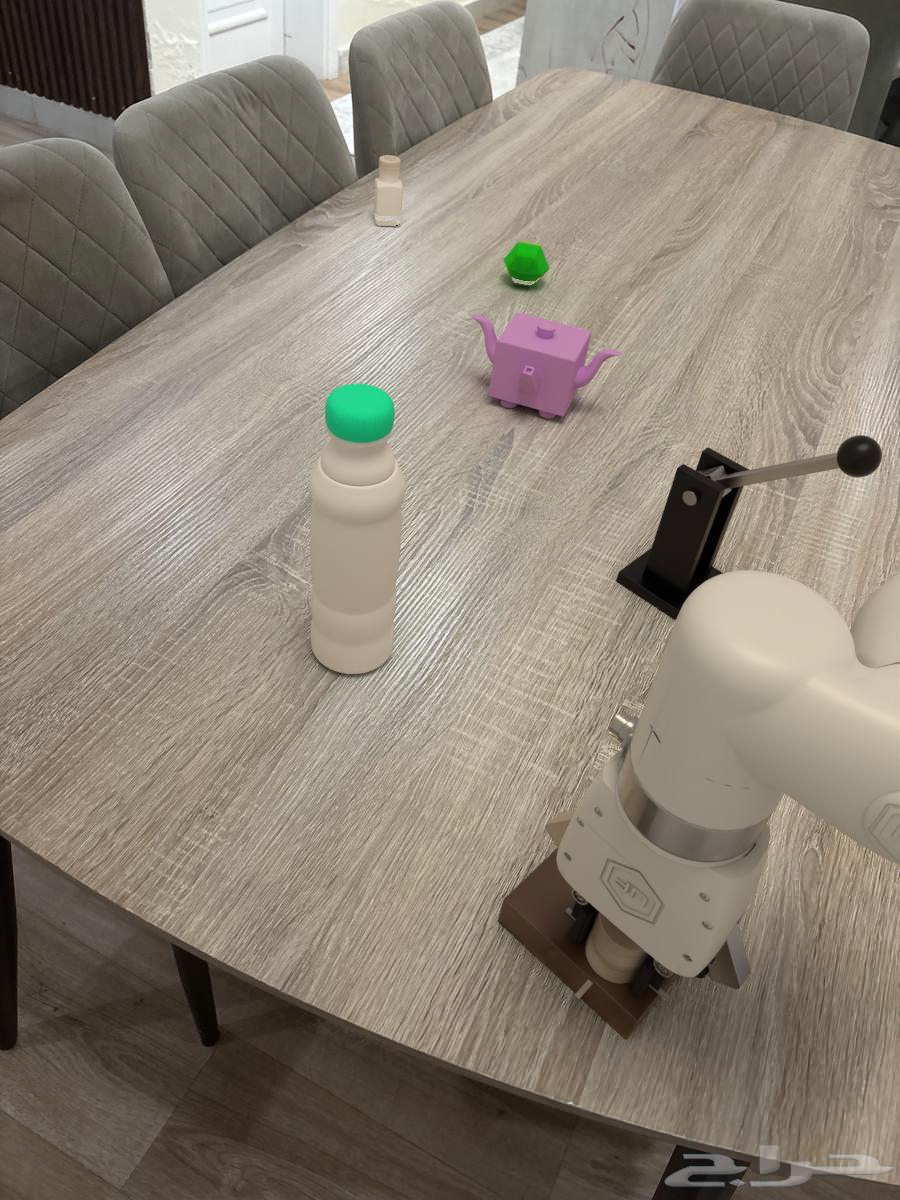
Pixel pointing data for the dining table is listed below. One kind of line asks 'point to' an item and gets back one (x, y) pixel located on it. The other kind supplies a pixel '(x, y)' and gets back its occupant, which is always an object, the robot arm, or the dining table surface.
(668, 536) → the black lever stand
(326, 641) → the water bottle
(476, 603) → the dining table surface
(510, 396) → the teapot
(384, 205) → the salt shaker
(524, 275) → the green faceted polyhedron
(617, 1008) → the tap panel
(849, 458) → the faucet lever
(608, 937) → the tap knob
